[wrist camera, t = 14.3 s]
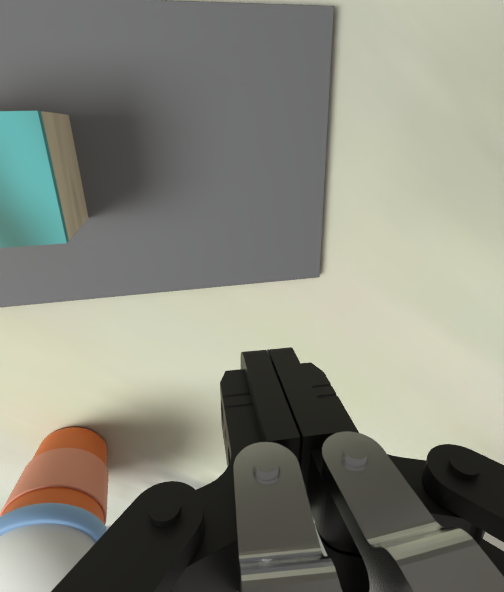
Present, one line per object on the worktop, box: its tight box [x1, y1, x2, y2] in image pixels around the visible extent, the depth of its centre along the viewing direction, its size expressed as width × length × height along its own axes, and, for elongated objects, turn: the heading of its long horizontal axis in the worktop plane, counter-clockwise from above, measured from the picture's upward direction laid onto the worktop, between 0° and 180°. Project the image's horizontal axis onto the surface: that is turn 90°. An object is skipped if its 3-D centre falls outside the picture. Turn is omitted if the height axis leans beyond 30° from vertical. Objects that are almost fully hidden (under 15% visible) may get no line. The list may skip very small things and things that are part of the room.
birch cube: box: [0, 111, 88, 248], centre depth 24 cm, size 7×7×7 cm
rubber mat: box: [0, 0, 334, 307], centre depth 29 cm, size 27×20×1 cm
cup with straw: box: [0, 427, 108, 592], centre depth 30 cm, size 9×9×18 cm
